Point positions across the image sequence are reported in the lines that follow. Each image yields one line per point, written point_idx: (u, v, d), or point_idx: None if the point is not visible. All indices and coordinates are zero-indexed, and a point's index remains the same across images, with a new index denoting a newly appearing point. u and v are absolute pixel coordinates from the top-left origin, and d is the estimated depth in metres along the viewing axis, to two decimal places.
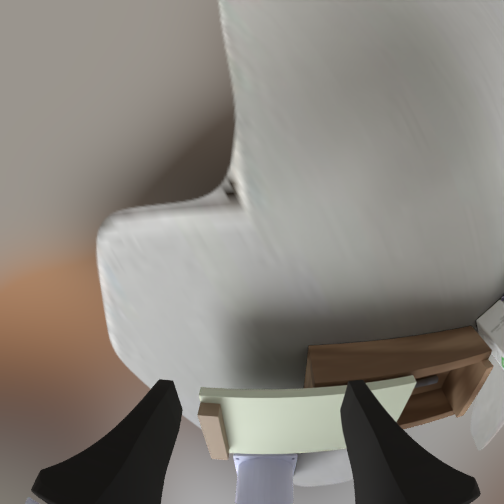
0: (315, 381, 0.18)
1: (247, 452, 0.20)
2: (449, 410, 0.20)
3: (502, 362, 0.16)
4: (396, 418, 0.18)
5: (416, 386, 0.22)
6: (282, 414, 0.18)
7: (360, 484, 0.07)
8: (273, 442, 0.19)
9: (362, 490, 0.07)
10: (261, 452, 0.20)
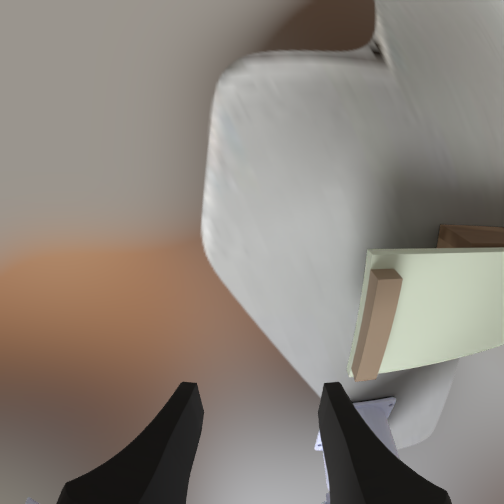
0: (471, 242, 0.14)
1: (389, 369, 0.16)
2: None
3: None
4: None
5: None
6: (449, 284, 0.14)
7: (334, 488, 0.07)
8: (425, 342, 0.15)
9: (335, 495, 0.07)
10: (405, 366, 0.16)
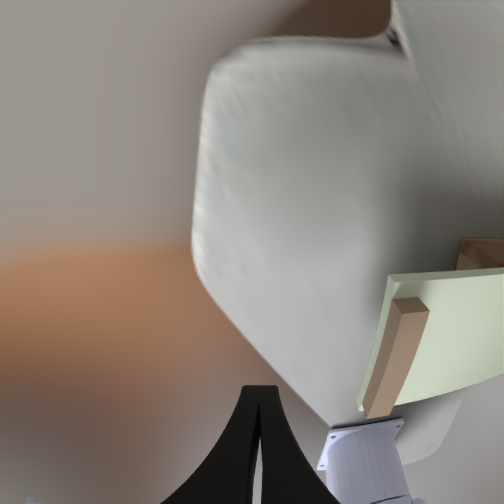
0: (498, 261, 0.11)
1: (403, 401, 0.13)
2: None
3: None
4: None
5: None
6: (475, 310, 0.11)
7: None
8: (443, 372, 0.13)
9: None
10: (420, 397, 0.13)
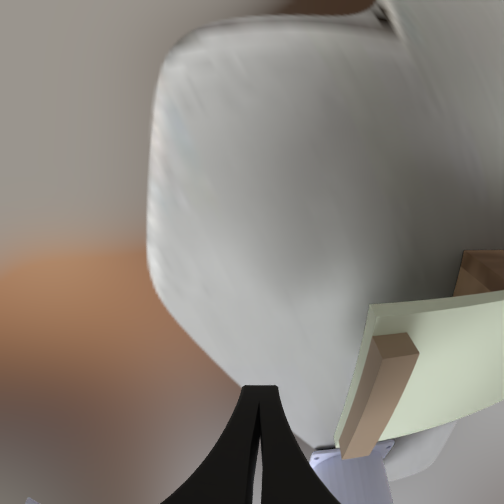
0: None
1: (388, 437, 0.11)
2: None
3: None
4: None
5: None
6: (476, 341, 0.09)
7: None
8: (435, 407, 0.10)
9: None
10: (407, 432, 0.11)
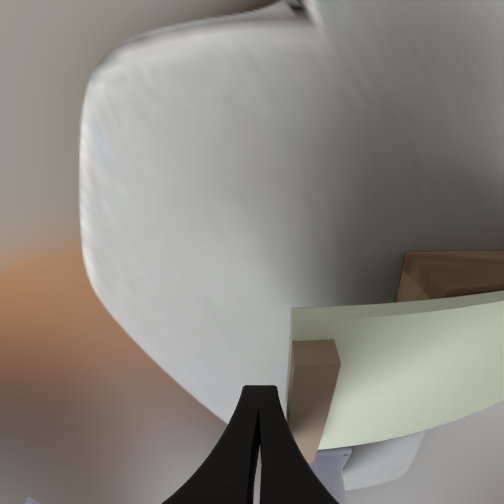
0: (445, 288, 0.09)
1: (339, 445, 0.11)
2: None
3: None
4: None
5: None
6: (430, 352, 0.09)
7: None
8: (389, 418, 0.11)
9: None
10: (361, 441, 0.11)
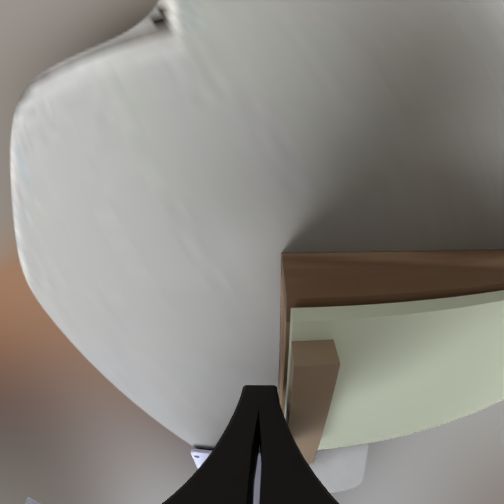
0: (288, 296, 0.10)
1: (339, 445, 0.11)
2: None
3: None
4: None
5: None
6: (429, 352, 0.09)
7: None
8: (389, 418, 0.11)
9: None
10: (361, 441, 0.11)
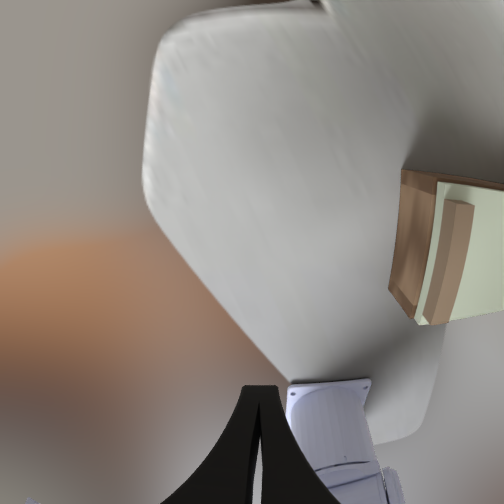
0: (432, 177, 0.13)
1: (454, 316, 0.15)
2: None
3: None
4: None
5: None
6: (503, 224, 0.12)
7: None
8: (484, 287, 0.14)
9: None
10: (467, 313, 0.14)
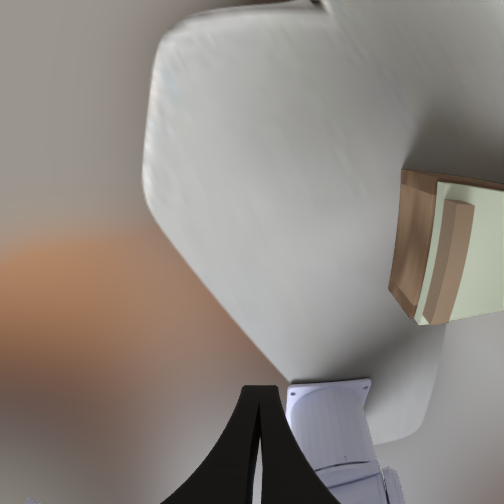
0: (432, 177, 0.13)
1: (454, 316, 0.15)
2: None
3: None
4: None
5: None
6: (503, 224, 0.12)
7: None
8: (484, 287, 0.14)
9: None
10: (467, 314, 0.14)
